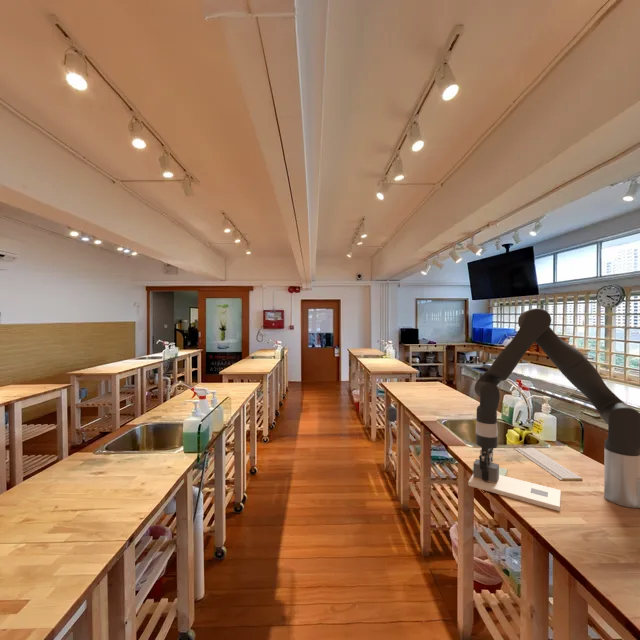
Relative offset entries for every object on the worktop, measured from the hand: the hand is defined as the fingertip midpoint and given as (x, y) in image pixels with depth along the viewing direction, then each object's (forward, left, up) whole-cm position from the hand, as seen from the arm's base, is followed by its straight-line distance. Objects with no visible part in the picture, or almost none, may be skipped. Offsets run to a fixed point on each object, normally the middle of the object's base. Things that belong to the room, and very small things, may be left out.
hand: (486, 477), depth 128 cm
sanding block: (0, 0, 0) cm, 1 cm away
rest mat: (+1, -12, -2) cm, 12 cm away
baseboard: (-16, -33, -3) cm, 37 cm away
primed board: (-9, 0, -2) cm, 9 cm away
